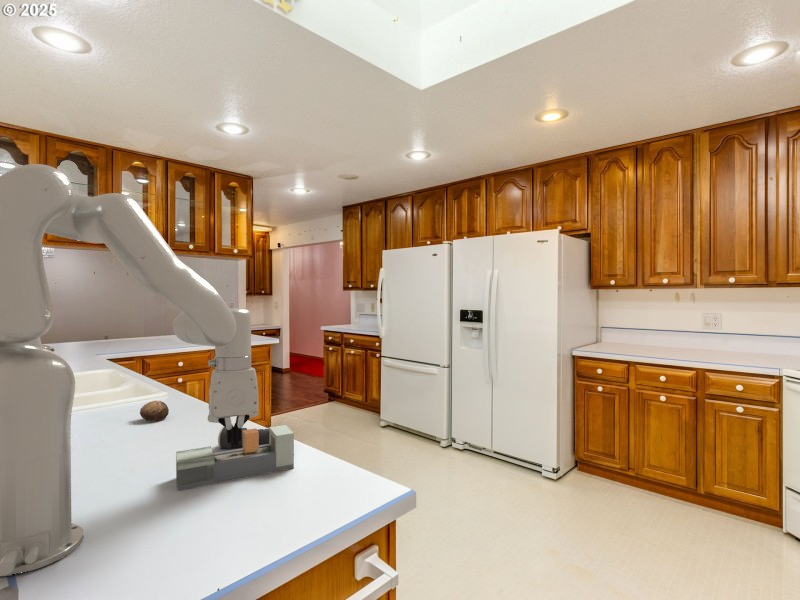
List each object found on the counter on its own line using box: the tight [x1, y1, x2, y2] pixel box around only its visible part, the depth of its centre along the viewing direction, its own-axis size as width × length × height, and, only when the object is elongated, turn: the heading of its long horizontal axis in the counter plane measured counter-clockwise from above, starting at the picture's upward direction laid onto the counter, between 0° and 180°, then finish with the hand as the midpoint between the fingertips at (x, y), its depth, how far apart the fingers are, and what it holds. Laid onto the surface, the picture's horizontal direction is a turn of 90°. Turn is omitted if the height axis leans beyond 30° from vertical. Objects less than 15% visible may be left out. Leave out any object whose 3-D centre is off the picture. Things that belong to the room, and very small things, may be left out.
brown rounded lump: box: [139, 400, 170, 423], centre depth 137 cm, size 8×8×6 cm
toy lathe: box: [175, 424, 295, 492], centre depth 98 cm, size 24×7×8 cm, turn 119°
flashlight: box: [217, 426, 269, 449], centre depth 114 cm, size 15×5×5 cm, turn 91°
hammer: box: [214, 428, 270, 462], centre depth 98 cm, size 14×3×8 cm, turn 119°
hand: (233, 444), depth 98 cm, fingers closed
